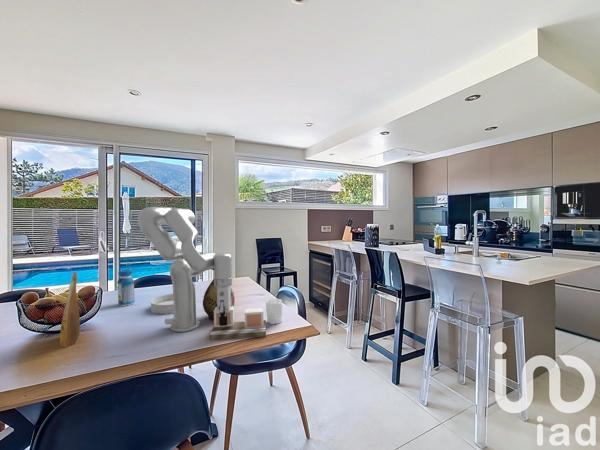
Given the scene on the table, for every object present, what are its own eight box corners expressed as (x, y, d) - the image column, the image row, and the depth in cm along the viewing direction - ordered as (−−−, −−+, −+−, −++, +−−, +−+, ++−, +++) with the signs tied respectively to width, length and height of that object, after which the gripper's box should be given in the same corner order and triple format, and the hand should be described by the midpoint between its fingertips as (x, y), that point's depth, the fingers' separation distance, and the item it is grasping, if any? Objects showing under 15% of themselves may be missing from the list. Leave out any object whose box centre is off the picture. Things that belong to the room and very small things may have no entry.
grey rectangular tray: (209, 340, 119) (209, 332, 119) (215, 327, 132) (215, 320, 132) (265, 336, 122) (265, 329, 122) (265, 324, 135) (265, 317, 135)
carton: (244, 328, 125) (244, 313, 125) (245, 324, 131) (245, 309, 130) (263, 327, 126) (263, 312, 126) (263, 323, 132) (263, 308, 131)
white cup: (284, 319, 141) (284, 299, 141) (279, 325, 134) (279, 304, 133) (269, 318, 144) (269, 298, 143) (263, 323, 136) (263, 303, 135)
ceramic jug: (226, 324, 136) (225, 261, 135) (197, 322, 140) (195, 260, 138) (241, 311, 153) (239, 255, 152) (214, 310, 156) (212, 255, 155)
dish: (200, 301, 173) (200, 293, 172) (181, 314, 151) (181, 305, 151) (165, 301, 175) (164, 293, 175) (141, 314, 153) (141, 304, 153)
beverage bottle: (129, 306, 165) (127, 271, 164) (114, 306, 165) (113, 271, 164) (137, 301, 173) (136, 268, 173) (124, 301, 174) (122, 268, 173)
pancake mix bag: (85, 330, 132) (82, 269, 130) (78, 346, 115) (75, 277, 114) (66, 333, 128) (63, 271, 127) (57, 351, 112) (53, 279, 111)
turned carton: (214, 327, 124) (213, 311, 124) (216, 322, 129) (215, 307, 129) (233, 326, 125) (232, 310, 125) (234, 321, 130) (234, 306, 130)
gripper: (229, 286, 118) (230, 330, 119) (234, 277, 135) (235, 315, 136) (210, 287, 117) (212, 331, 118) (217, 277, 134) (218, 316, 135)
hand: (224, 322), depth 127 cm, fingers closed on turned carton, 5 cm apart
